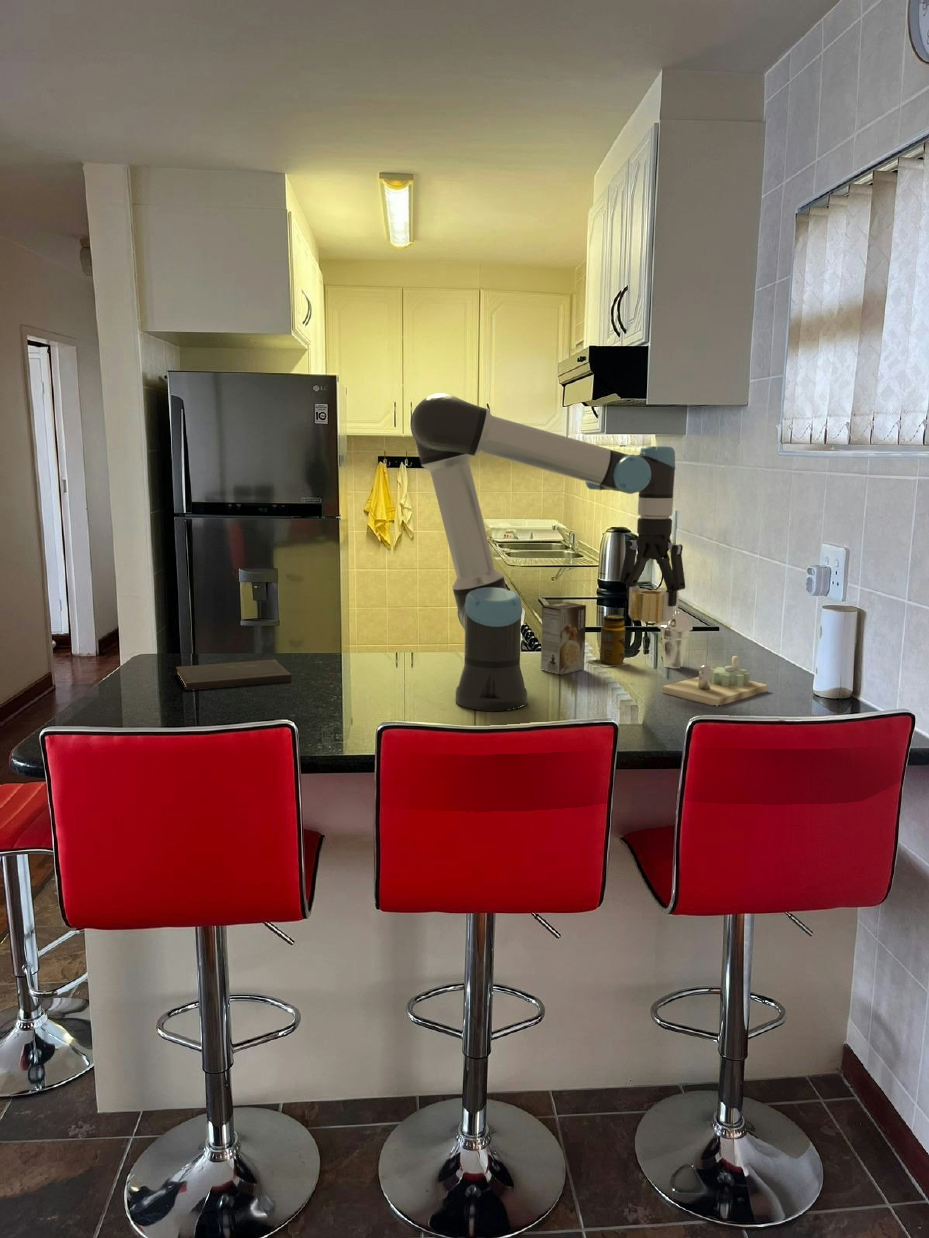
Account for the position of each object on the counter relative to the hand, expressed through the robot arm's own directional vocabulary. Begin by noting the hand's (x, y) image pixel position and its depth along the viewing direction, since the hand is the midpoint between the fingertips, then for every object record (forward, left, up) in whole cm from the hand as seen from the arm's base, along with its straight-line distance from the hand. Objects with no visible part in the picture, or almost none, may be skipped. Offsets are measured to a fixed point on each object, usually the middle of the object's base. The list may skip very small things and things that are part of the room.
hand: (650, 617), depth 204 cm
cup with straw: (+20, +7, -16) cm, 27 cm away
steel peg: (+3, -14, -14) cm, 20 cm away
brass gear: (0, 0, 0) cm, 0 cm away
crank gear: (+12, -14, -14) cm, 23 cm away
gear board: (+7, -14, -16) cm, 22 cm away
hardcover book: (-71, +63, -16) cm, 96 cm away
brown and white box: (-5, +21, -16) cm, 27 cm away
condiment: (+10, +19, -16) cm, 27 cm away
